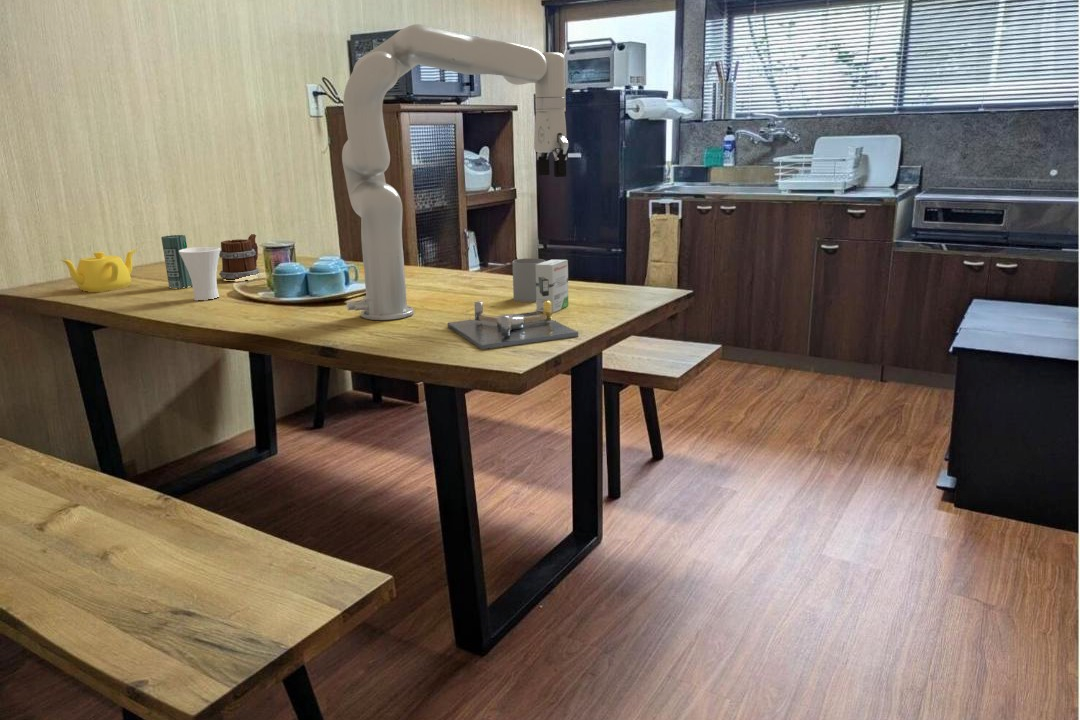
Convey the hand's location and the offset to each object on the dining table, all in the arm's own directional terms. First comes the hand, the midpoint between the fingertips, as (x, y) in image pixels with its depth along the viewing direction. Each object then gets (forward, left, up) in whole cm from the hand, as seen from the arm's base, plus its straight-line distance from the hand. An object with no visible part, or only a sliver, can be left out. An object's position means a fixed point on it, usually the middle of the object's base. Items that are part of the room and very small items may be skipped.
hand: (551, 175), depth 200 cm
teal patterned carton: (-90, +67, -31) cm, 117 cm away
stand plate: (-25, -30, -31) cm, 50 cm away
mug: (-72, +73, -32) cm, 107 cm away
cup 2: (-7, 0, -32) cm, 32 cm away
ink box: (-7, -14, -32) cm, 35 cm away
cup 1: (-84, +45, -31) cm, 100 cm away
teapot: (-110, +76, -32) cm, 137 cm away
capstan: (-23, -30, -30) cm, 48 cm away
